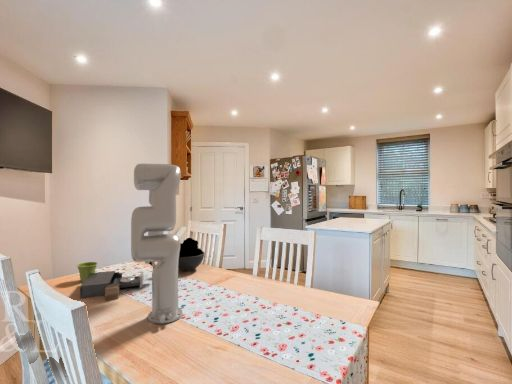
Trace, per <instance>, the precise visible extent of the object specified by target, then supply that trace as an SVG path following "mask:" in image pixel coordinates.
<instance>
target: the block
mask: <svg viewBox="0 0 512 384" xmlns="http://www.w3.org/2000/svg"><path fill="white" fill-rule="evenodd" d="M119 296H120V288H119V284H115V285H107V286H106V288H105V295H104V299H105V300H104V301H112V300H119Z"/></svg>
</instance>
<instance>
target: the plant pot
mask: <svg viewBox="0 0 512 384" xmlns="http://www.w3.org/2000/svg"><path fill="white" fill-rule="evenodd" d="M97 265H99V264H98V262H96V261H87V262H83V263H82V262H81V263H79V264H77V266H76V267H77V269H78V271H79V272H78V274H79V278H80V282H82V283H83V282H84V281H85V279H86V278H87V277H88V275H89V274H90V273H96V270H97V269H96V268H97Z"/></svg>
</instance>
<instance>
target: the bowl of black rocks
mask: <svg viewBox="0 0 512 384" xmlns="http://www.w3.org/2000/svg"><path fill="white" fill-rule="evenodd" d="M204 256H205V251H203V250H202V249H201V248H200V247H199V241H198V240H197V239H194V238H192V237H187V238H186V239H184V240H183V242H180V252H179V260H178V270H180V271H185V272H186V271H188V272H189V271H193V270H195V269H196V268H198V267H199V266H200V265H201V264H202V262H203V260H204V258H205V257H204Z"/></svg>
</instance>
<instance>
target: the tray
mask: <svg viewBox="0 0 512 384" xmlns="http://www.w3.org/2000/svg"><path fill="white" fill-rule="evenodd" d="M134 277H135V281H134V282H133V283H126V284H120V283H119V279H120V278H115V279H114V282H113V284H114V283H118V284H119V289H120V288H128V287H129V288H130V287H137V286H138V287H139V289H143V286H144V285H143V283H144V272H143V271H141V272H140V275H137V276H134Z"/></svg>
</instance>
